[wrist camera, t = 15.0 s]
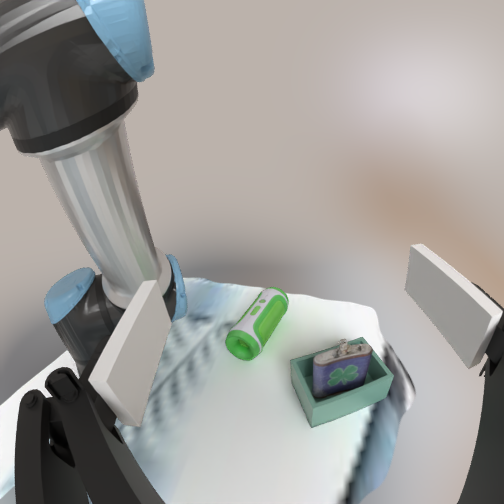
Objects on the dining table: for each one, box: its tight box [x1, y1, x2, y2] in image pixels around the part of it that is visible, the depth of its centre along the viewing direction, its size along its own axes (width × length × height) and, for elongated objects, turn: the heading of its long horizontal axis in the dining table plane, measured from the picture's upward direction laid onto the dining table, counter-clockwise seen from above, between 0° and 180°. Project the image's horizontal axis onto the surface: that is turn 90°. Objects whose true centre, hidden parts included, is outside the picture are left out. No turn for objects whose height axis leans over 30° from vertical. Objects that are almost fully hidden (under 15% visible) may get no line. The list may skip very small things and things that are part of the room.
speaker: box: [225, 287, 288, 360], centre depth 56 cm, size 18×7×8 cm, turn 154°
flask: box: [312, 339, 373, 399], centre depth 37 cm, size 9×3×11 cm, turn 94°
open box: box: [290, 337, 394, 428], centre depth 39 cm, size 10×13×6 cm
